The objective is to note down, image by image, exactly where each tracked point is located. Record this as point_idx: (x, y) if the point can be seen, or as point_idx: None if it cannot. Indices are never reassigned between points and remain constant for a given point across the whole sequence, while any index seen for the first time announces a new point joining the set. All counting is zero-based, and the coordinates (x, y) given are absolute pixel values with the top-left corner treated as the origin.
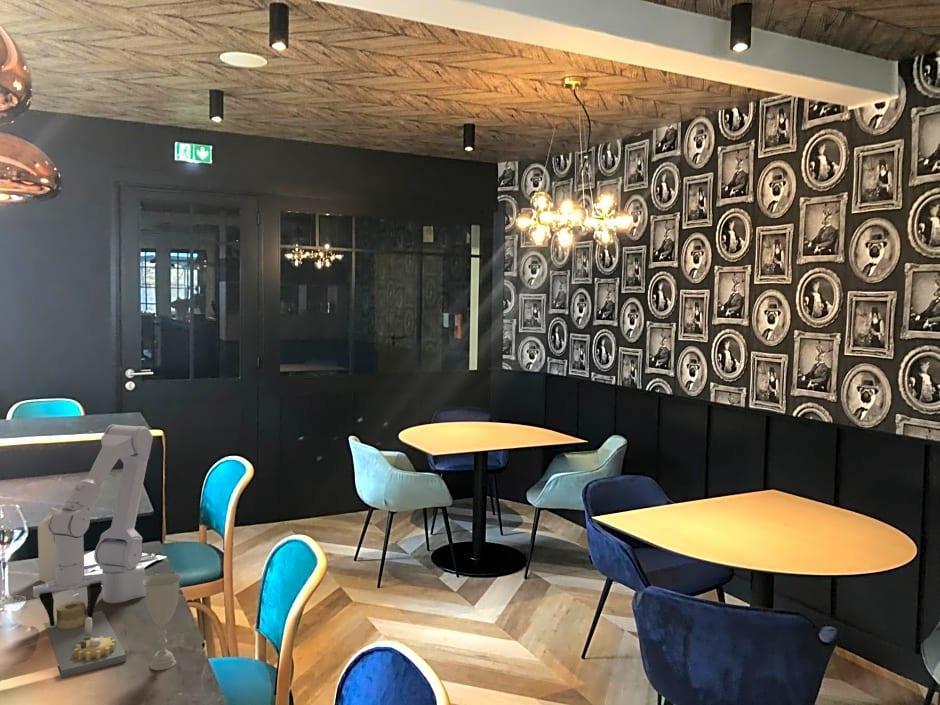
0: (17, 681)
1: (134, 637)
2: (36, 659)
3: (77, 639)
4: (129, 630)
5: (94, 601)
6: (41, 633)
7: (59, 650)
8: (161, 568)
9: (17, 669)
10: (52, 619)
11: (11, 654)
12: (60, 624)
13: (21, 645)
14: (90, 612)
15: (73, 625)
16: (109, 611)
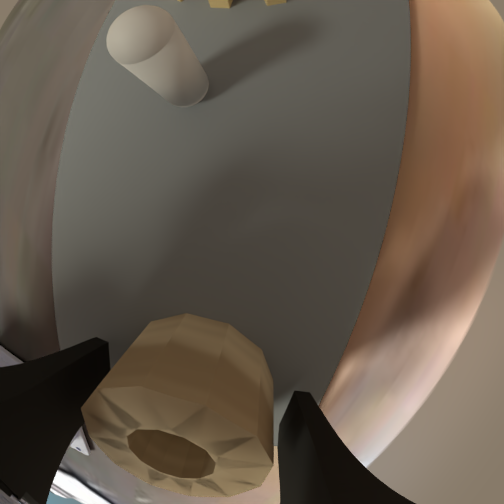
0: (499, 58)
1: (53, 72)
2: (449, 151)
3: (255, 115)
4: (34, 151)
5: (18, 371)
6: None
7: (386, 63)
8: None
9: (501, 133)
10: (314, 416)
11: (478, 288)
12: (266, 378)
13: (424, 347)
14: (83, 350)
15: (203, 326)
16: None
